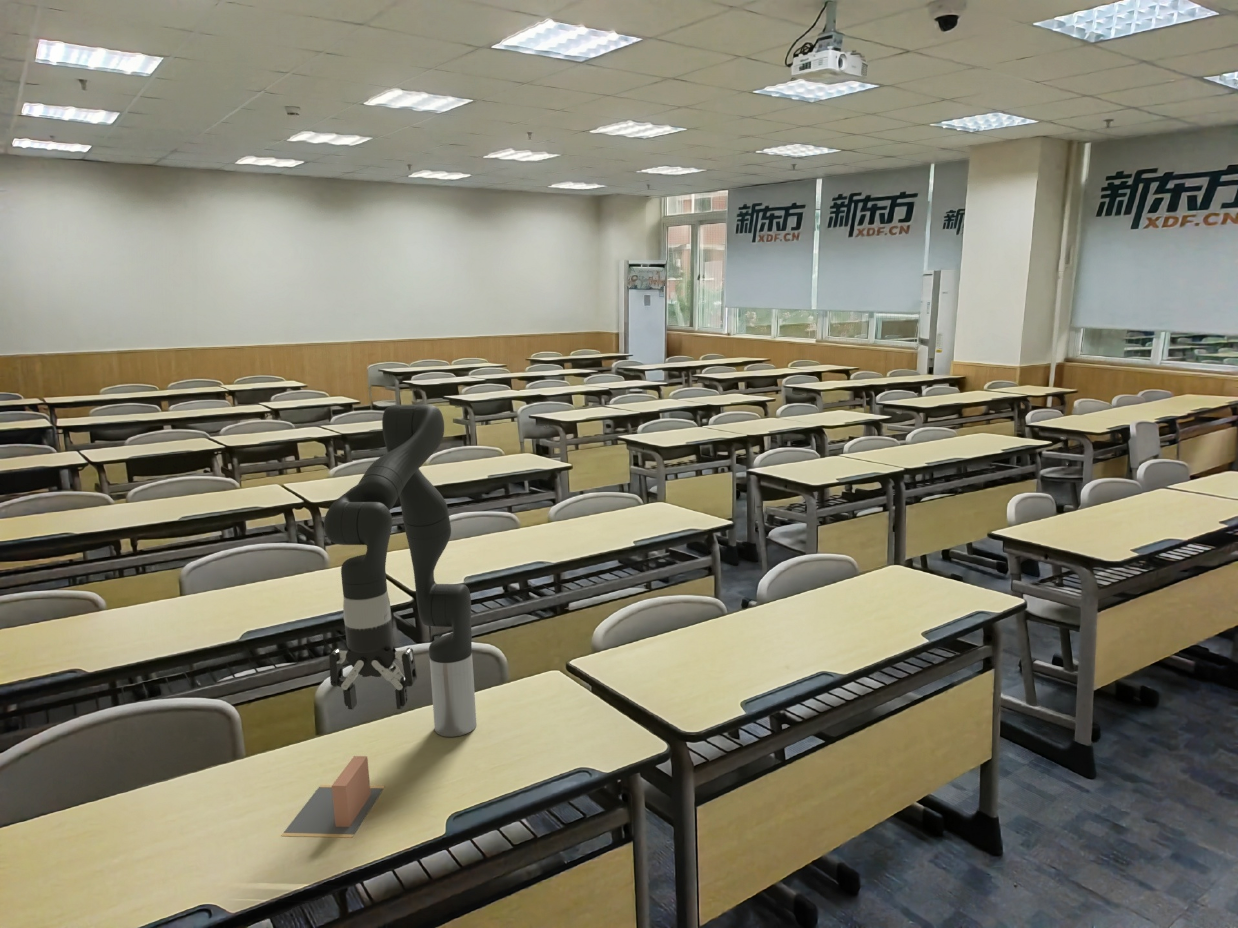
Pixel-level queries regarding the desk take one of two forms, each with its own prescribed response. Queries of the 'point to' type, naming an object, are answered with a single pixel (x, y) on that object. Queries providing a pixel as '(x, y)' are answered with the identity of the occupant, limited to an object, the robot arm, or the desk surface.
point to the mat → (327, 816)
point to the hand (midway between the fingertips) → (376, 707)
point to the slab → (351, 791)
